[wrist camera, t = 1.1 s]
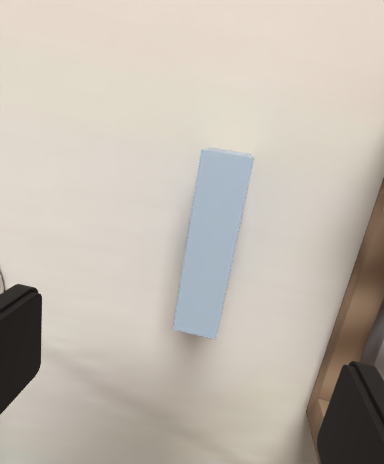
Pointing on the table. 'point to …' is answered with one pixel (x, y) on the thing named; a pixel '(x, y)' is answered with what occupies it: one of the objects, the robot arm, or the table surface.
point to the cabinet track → (355, 320)
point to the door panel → (211, 239)
